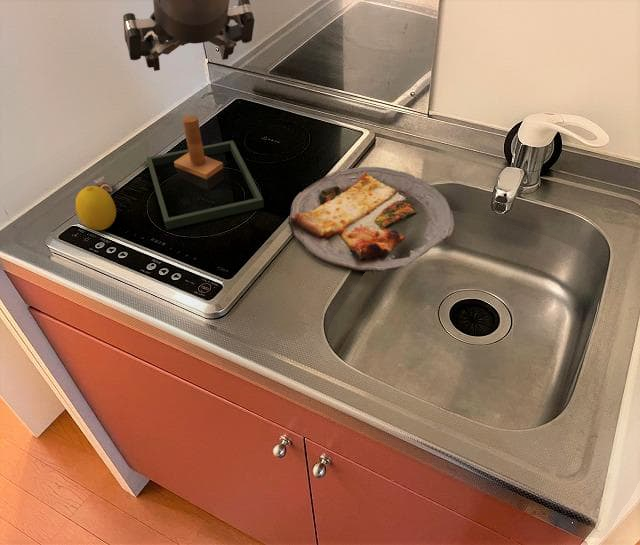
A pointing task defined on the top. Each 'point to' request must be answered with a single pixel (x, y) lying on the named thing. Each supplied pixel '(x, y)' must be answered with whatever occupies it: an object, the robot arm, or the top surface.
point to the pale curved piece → (104, 185)
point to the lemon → (95, 208)
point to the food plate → (354, 203)
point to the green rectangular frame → (212, 212)
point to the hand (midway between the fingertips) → (189, 57)
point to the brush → (197, 159)
